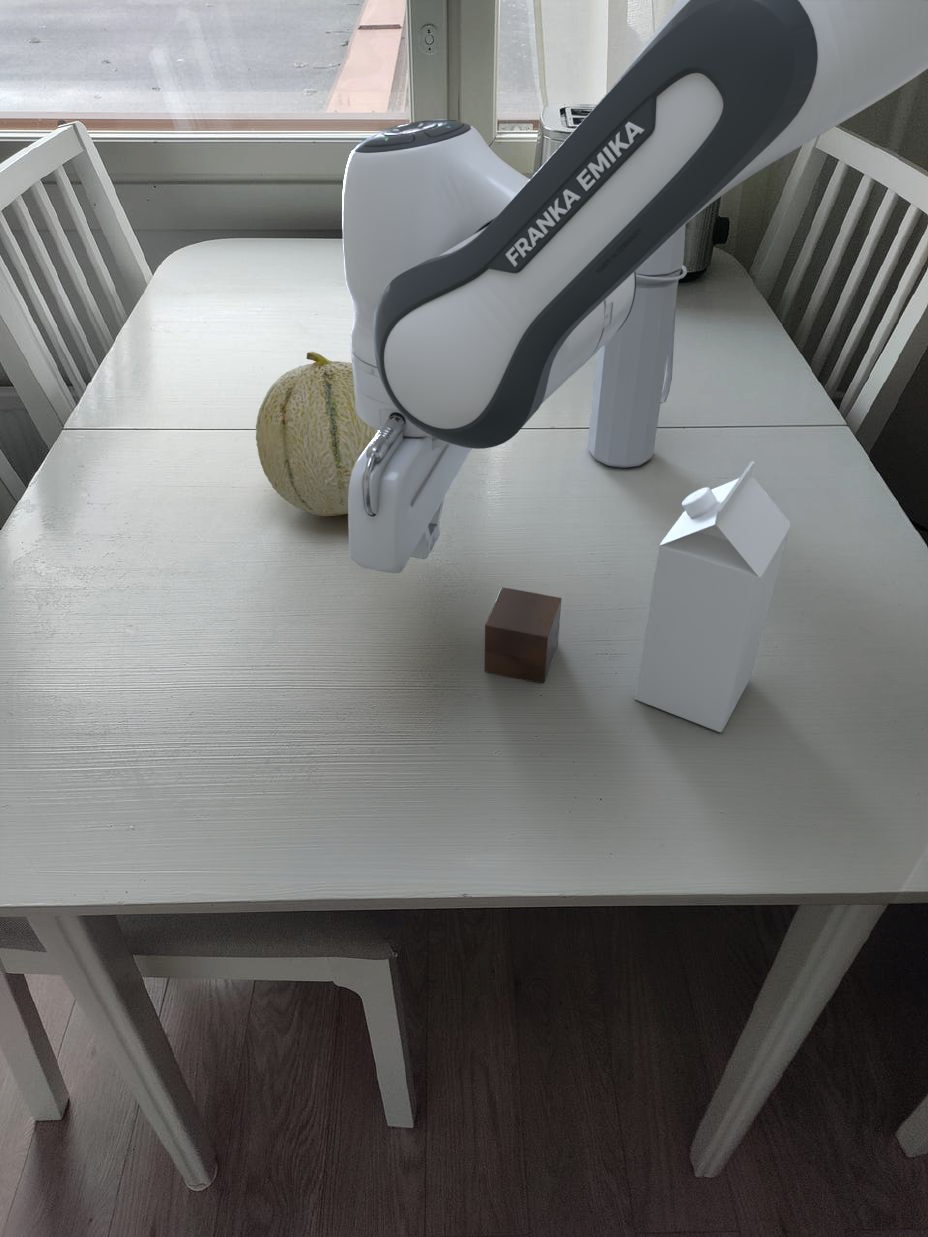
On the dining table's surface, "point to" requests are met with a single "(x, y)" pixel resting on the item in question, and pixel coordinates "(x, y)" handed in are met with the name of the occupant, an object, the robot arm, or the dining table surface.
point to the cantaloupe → (312, 435)
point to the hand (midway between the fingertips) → (423, 547)
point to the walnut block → (522, 634)
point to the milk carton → (711, 601)
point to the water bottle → (638, 364)
